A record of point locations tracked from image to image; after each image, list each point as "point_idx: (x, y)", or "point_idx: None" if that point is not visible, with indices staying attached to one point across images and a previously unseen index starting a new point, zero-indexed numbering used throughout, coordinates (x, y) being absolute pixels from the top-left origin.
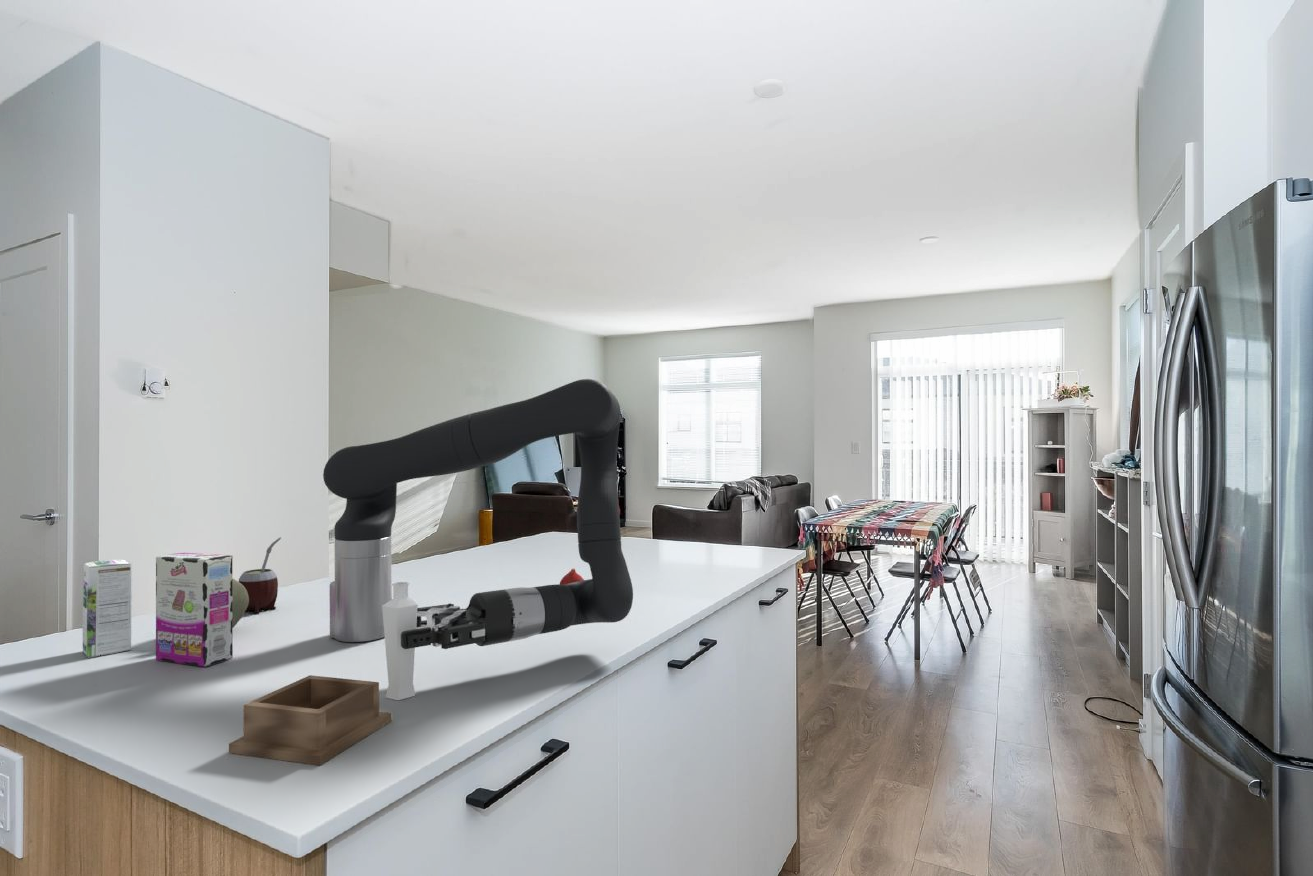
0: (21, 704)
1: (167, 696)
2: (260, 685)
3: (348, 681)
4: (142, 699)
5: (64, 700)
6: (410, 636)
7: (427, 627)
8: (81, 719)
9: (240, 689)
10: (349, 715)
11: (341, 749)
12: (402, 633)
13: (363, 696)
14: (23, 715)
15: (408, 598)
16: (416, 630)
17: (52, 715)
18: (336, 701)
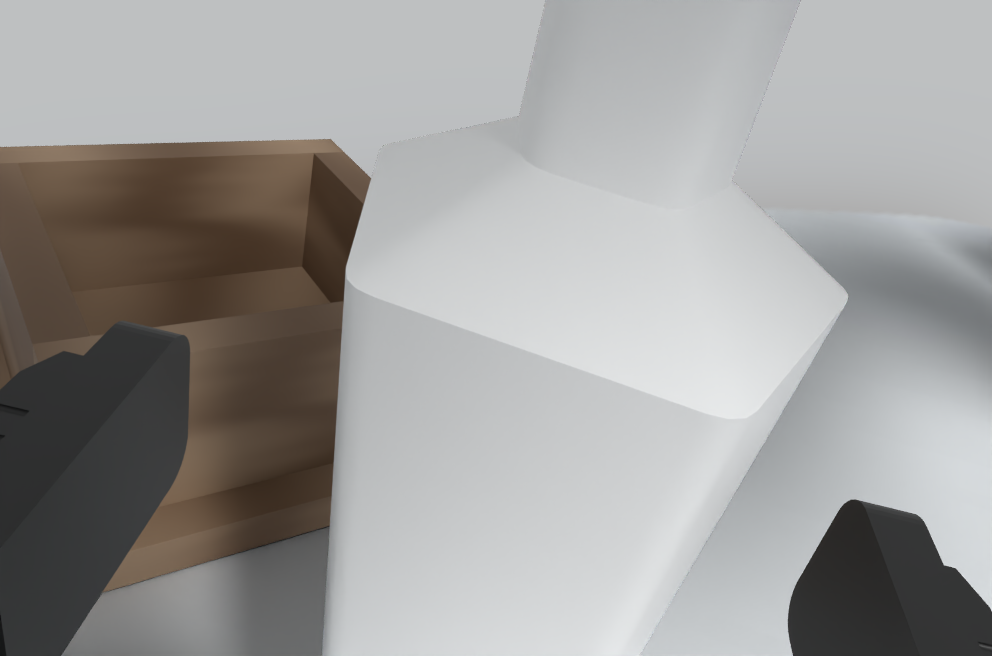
0: (978, 231)
1: (937, 340)
2: (970, 498)
3: (236, 322)
4: (930, 312)
5: (982, 258)
6: (37, 366)
7: (6, 530)
8: (820, 236)
9: (939, 448)
10: (5, 314)
11: None
12: (150, 327)
13: (17, 322)
14: (898, 216)
15: (526, 174)
16: (46, 398)
17: (875, 228)
18: (20, 207)
